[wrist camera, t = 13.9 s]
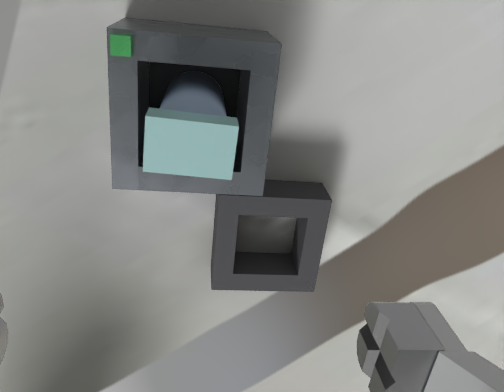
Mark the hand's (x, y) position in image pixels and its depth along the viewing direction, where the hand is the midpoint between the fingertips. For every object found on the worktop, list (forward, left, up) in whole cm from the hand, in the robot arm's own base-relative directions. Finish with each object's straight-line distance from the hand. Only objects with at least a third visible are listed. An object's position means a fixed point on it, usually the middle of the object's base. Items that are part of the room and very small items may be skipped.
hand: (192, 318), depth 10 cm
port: (0, 0, -23) cm, 23 cm away
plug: (0, +1, -23) cm, 23 cm away
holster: (-6, +10, -23) cm, 26 cm away
